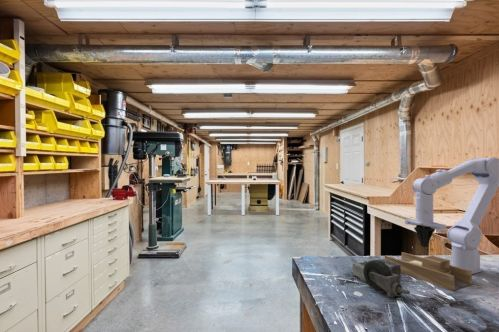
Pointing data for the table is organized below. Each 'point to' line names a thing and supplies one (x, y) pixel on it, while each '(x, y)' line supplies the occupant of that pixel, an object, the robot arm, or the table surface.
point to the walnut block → (436, 264)
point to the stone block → (392, 266)
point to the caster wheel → (383, 278)
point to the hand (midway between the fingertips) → (424, 246)
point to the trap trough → (433, 272)
